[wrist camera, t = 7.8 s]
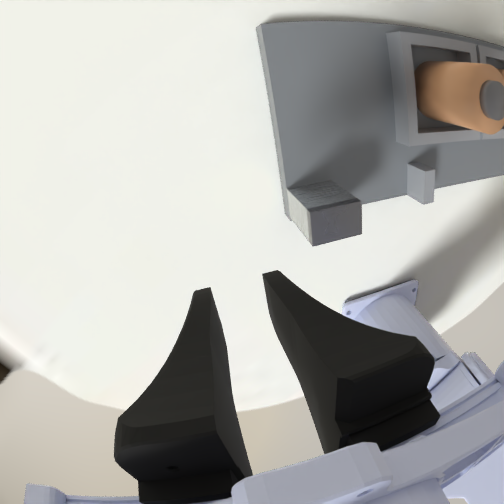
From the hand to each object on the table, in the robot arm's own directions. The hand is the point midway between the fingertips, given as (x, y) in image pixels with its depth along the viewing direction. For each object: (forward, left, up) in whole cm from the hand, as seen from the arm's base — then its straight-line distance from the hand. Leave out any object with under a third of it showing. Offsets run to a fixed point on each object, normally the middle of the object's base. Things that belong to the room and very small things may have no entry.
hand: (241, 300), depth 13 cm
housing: (+5, -17, -9) cm, 20 cm away
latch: (0, -6, -8) cm, 10 cm away
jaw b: (+7, -17, -8) cm, 20 cm away
